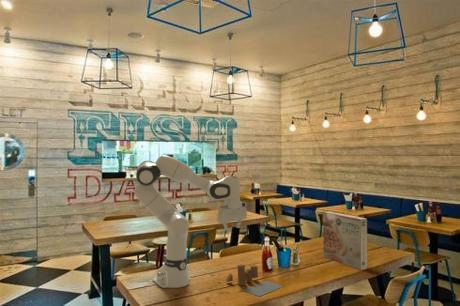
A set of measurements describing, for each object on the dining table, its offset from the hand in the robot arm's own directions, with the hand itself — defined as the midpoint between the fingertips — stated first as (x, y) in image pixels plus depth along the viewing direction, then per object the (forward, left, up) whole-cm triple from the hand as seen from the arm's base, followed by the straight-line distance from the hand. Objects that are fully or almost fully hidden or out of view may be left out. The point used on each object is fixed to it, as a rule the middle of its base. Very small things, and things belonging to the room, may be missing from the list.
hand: (232, 228), depth 204 cm
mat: (+20, +3, -29) cm, 35 cm away
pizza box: (+30, +72, -29) cm, 83 cm away
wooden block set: (+7, +2, -29) cm, 30 cm away
